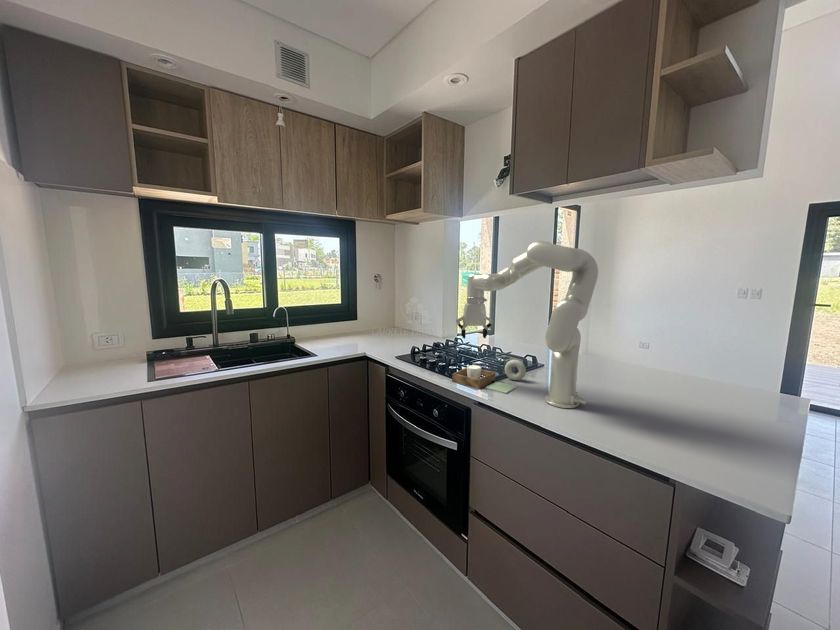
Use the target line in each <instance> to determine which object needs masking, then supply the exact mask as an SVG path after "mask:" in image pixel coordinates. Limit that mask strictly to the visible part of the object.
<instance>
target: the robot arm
mask: <svg viewBox="0 0 840 630" xmlns="http://www.w3.org/2000/svg"><path fill="white" fill-rule="evenodd" d="M511 261H512V263H511V264H510V265H509V266H507V267H506V268H504V269H502V270H501V271H499V272H497V273H485V274H482V273H470V274H468V276H467V284H466V285H467V288H466V289H467V291H466V303H464V308H463V314H462V316H461V317H459V318H457V319H455V322H456V324H457V326H458V327H459V328H460V329H461V331H460V332H461V333H460V334H461V335H460V336H461V337H462V338H463V339H466V328H467V327H481V326H482V337H483V339H487V336H488V330H489V328H490V327H492V324H493V323H494V319H492V318H490V317H488V316H487V310H486V304H485V302H487V298H485V292H493V291H500V290H504V288H507V287H509V286H511V285H513V284H515V283H516V282H517V281H519V280H521V279H522V278H523V277H525V276H527V275H529V274H531V273H533V272H535V271H537V270H538V269H540V268H542V267H545V268H550V269H554V270H557V271H561V272H567V273H570V272H572V278H571V280H570V283H569V285H568V289H567V292H566V294H565V297H564V298H562V299H561V300H559V301H558V302H557V303H556V304H555V306H554V307H553V309H552V313H551V315H550V318H549V319H550V320H549V322H548V326H547V328H546V331H545V332H546V333H545V336H544V337H545V339H544V342H545V344H546V347H547V348H548V349H549V350H551V361H550V377H549V379H550V380H549V393H548V394H547V395H545V397H544V400H545V402H546V403H547V404H548V405H550V406H553V407H555V408H560V409H561V408H562V409H574V408H577V407H579V406H580V404H582V405H585V406H586V405H587V404H588V399H586V397H584V396H580V395H579V392H578V391H577V381H578V380H577V379H578V377H577V376H578V366H579V365H578V364H579V353H580V347H581V346H580V345H581V340H582V338H581V337H582V335H581V332H580V329H579V328H578V326H579V323H580V322H581V321H582V320H583V319H585V318H586V317H587V314H588V311H589V307H590V303H591V300H592V297H593V294H594V291H595V287H596V284H597V281H598V277H599V267H598V263H597V262H596V259H595V258H594V256H592V254H590V253H589V252H588V251H586V250H584V249H581V248H578V247H577V248H575V247H570V246H569V247H568V246H564V245H560V244H555V243H552V242H549V241H545V240H535V241H533V242H532V243H530V244H529V246H528V247H527V248H526V251H524V252H522V253H520V254H519V255H517V256H515V257H514V258H513V259H512V260H511ZM461 321H462V323H463V324H461ZM487 321H488V323H487Z"/></svg>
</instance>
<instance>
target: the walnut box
mask: <svg viewBox="0 0 840 630" xmlns="http://www.w3.org/2000/svg"><path fill="white" fill-rule="evenodd" d="M466 375H467V367H465V368H463V369H460V370H457V371H455V372H454V373H452V376H451V379H452V380H451V382H452V383H455V384H459V385H463V386H466V387H470V388H472V389H473V388H474V389H478V390H480V389H483V388H485V387H487V386H489V385H490V384H492V383H493V382H492V381H493V380H494V379H495V380H496V372H495V371H490V370H487V369H482V368H481V375H483V376H485V377H483V378H480V379H475V378H471V377H468V376H466ZM491 382H492V383H491Z"/></svg>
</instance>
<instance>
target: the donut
mask: <svg viewBox="0 0 840 630" xmlns="http://www.w3.org/2000/svg"><path fill="white" fill-rule="evenodd" d="M504 365H505V366H504V373H505V375H506V376H507V377H508V378H509V379H510V380H512V381H520V380H522V379H523V378H524V377H525V376H526V372H527V370H526V367H525V364H524V363H523V362H522V361H520V360H519V359H511V360H509V361H507V362H506V363H505V364H504ZM514 367H515V368H517V369H518V371H517V372H513V368H514Z"/></svg>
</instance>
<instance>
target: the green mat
mask: <svg viewBox="0 0 840 630" xmlns="http://www.w3.org/2000/svg"><path fill="white" fill-rule="evenodd" d="M484 388H485V389H486V390H490V391H493V392H498V393H501V394H505V395H506V394H509V393H511V391H513V390H515V389H516V388H517V385H513V384H509V383H505V382H500V381H494V382H492V383H490V384H488V385H486V386H484Z"/></svg>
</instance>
